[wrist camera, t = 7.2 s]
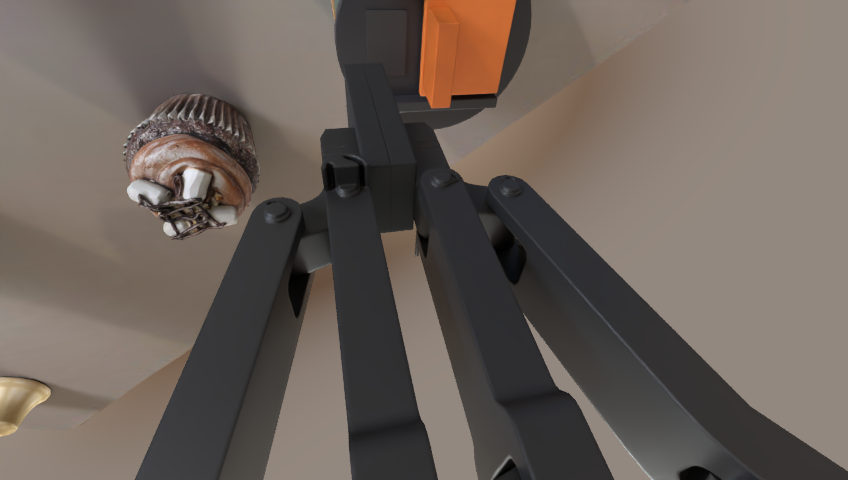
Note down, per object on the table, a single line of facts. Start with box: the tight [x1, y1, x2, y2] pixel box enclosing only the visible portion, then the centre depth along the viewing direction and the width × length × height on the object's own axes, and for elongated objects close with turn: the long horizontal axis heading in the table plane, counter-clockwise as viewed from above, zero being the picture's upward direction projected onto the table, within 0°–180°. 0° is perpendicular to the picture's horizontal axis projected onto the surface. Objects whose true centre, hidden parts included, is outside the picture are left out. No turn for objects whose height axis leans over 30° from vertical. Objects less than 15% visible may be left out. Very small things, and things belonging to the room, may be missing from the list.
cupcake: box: [123, 93, 261, 240], centre depth 32 cm, size 10×10×10 cm
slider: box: [419, 0, 516, 108], centre depth 20 cm, size 4×5×2 cm
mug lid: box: [334, 0, 531, 130], centre depth 21 cm, size 10×10×2 cm
